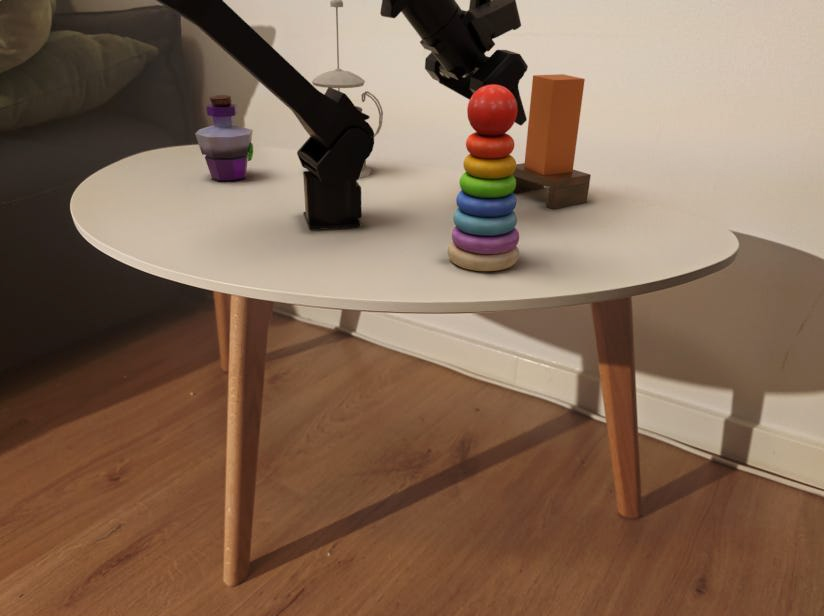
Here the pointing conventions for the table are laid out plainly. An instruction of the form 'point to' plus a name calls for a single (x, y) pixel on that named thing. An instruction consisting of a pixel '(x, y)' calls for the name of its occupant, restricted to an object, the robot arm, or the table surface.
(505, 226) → the stacking toy
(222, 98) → the potion bottle
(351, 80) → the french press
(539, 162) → the orange box
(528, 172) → the walnut shelf
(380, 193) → the table surface
